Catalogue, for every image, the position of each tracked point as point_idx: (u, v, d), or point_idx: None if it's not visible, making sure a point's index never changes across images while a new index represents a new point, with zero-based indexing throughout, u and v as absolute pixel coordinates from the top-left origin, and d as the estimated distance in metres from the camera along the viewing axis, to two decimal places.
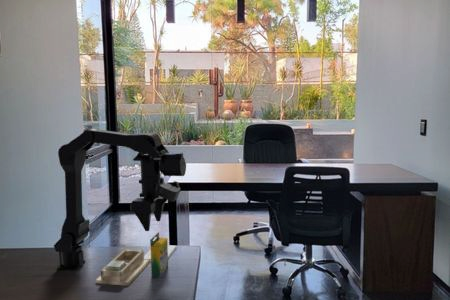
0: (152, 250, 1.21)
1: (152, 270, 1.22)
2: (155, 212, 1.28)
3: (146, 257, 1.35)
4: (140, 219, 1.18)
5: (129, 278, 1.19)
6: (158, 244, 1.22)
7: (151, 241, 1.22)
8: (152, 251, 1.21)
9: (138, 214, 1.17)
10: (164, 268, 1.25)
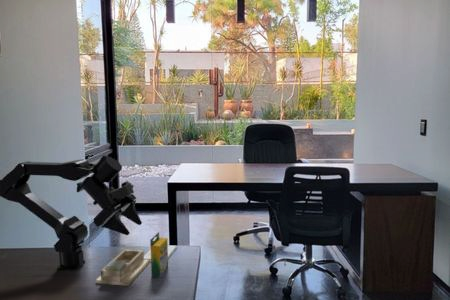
0: (152, 250, 1.21)
1: (152, 270, 1.22)
2: (133, 219, 1.30)
3: (146, 257, 1.35)
4: (115, 229, 1.20)
5: (129, 278, 1.19)
6: (158, 244, 1.22)
7: (151, 241, 1.22)
8: (152, 251, 1.21)
9: (109, 226, 1.19)
10: (164, 268, 1.25)
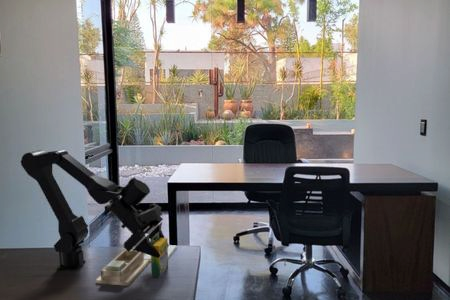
0: None
1: (152, 270, 1.22)
2: None
3: (146, 257, 1.35)
4: (145, 252, 1.20)
5: (129, 278, 1.19)
6: (158, 244, 1.22)
7: (151, 241, 1.22)
8: None
9: (140, 249, 1.19)
10: (164, 268, 1.25)
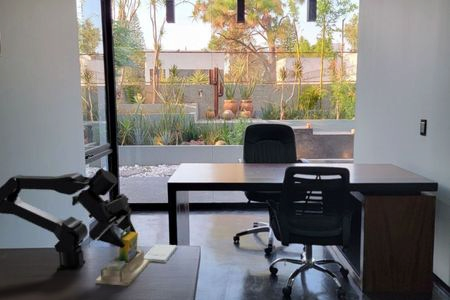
0: None
1: None
2: None
3: (147, 257, 1.35)
4: (110, 242, 1.22)
5: (129, 278, 1.19)
6: (128, 238, 1.25)
7: (121, 234, 1.24)
8: None
9: (104, 239, 1.21)
10: None
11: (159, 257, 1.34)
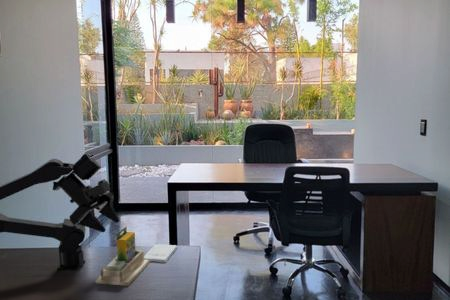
0: (118, 244, 1.24)
1: None
2: (110, 217, 1.32)
3: (147, 257, 1.35)
4: (91, 227, 1.22)
5: (129, 278, 1.19)
6: (124, 238, 1.25)
7: (117, 235, 1.24)
8: (118, 245, 1.24)
9: (85, 224, 1.22)
10: None
11: (159, 257, 1.34)
